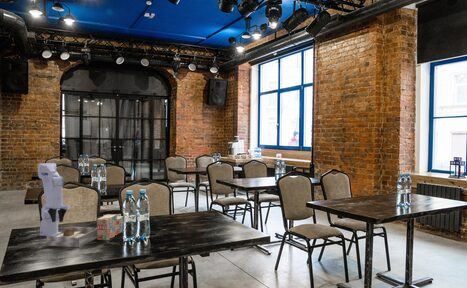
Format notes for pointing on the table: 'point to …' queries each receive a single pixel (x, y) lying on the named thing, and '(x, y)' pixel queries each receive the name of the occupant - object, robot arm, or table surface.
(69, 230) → the walnut block
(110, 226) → the stack of blocks
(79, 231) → the board
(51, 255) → the table surface
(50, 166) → the robot arm
